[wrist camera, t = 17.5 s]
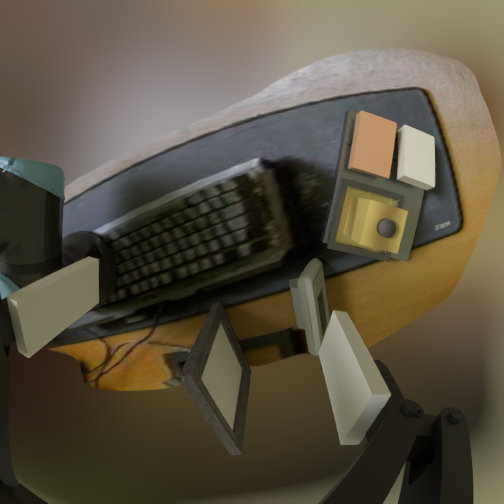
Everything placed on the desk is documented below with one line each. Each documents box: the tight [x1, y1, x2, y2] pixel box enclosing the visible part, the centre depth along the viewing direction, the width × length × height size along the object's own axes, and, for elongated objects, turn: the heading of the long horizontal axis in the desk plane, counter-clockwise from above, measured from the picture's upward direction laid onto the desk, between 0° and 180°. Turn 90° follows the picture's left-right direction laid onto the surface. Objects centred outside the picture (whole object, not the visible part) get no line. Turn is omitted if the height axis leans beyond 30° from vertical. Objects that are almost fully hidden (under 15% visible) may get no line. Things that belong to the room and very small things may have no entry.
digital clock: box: [289, 258, 330, 356], centre depth 43 cm, size 14×8×9 cm, turn 1°
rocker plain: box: [397, 125, 435, 190], centre depth 36 cm, size 6×9×2 cm, turn 169°
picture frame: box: [179, 302, 251, 455], centre depth 40 cm, size 16×2×21 cm, turn 19°
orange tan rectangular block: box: [348, 111, 397, 179], centre depth 36 cm, size 6×9×2 cm, turn 169°
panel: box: [321, 109, 424, 262], centre depth 40 cm, size 16×22×4 cm
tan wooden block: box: [344, 197, 408, 254], centre depth 37 cm, size 6×6×9 cm
